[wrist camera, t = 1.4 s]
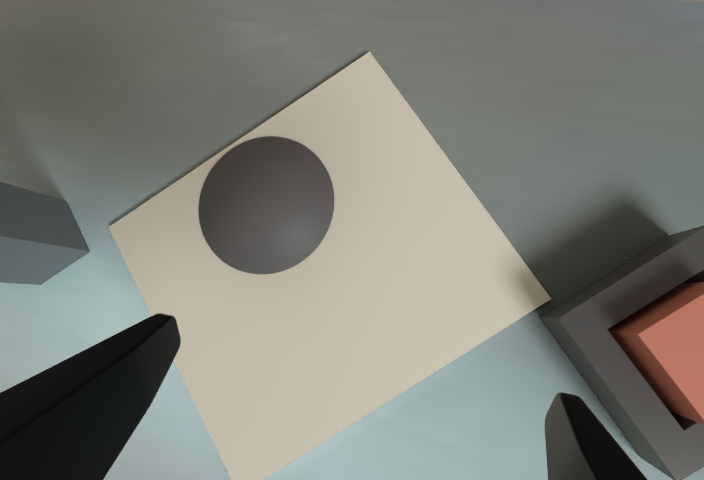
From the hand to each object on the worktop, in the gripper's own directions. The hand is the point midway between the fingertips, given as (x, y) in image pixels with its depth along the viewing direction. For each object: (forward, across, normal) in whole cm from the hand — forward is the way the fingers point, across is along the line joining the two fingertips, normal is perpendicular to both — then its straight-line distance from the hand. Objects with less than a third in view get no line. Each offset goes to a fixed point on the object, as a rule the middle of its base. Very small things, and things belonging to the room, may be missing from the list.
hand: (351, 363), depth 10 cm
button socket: (+12, -14, +7) cm, 19 cm away
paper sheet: (+13, +5, +7) cm, 15 cm away
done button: (+11, -14, +6) cm, 18 cm away
